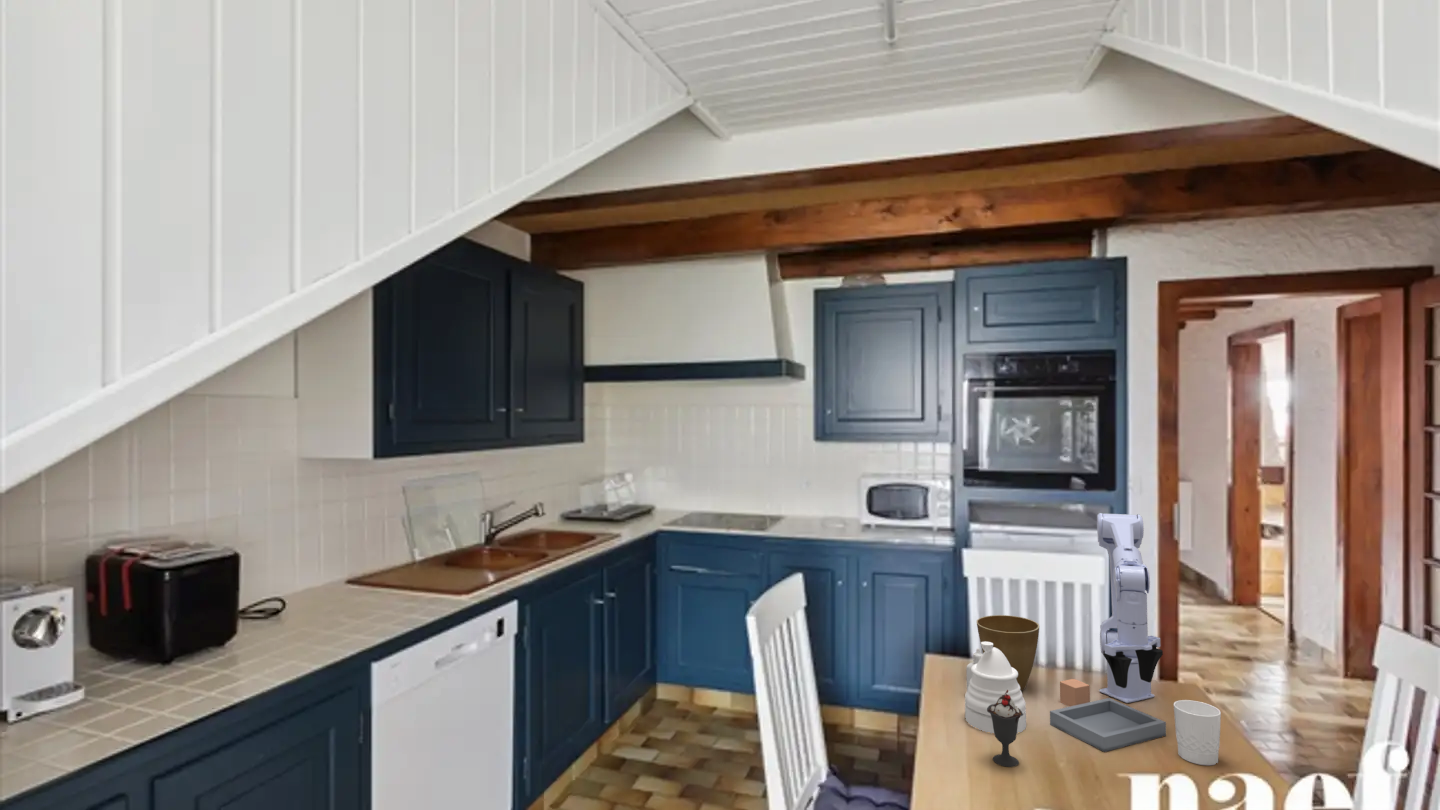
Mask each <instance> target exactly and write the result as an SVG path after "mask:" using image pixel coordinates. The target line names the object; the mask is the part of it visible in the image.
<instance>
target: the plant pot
mask: <svg viewBox="0 0 1440 810" xmlns="http://www.w3.org/2000/svg"><path fill="white" fill-rule="evenodd" d="M976 627H977V632H978V637H979V642H980V644H981V642H991V643H993V647H995V648H997V649H999V650H1000V651H1001V652H1002V653H1003V654H1004V655H1005V657H1006V658H1007V660H1008V662H1009V664H1010V666H1011V667H1013V668H1014V669H1015V670H1017V672H1018V677H1017V678H1016V680H1017V682H1018V684H1019V685H1020V690H1021V691H1023V690H1025V689H1026V687H1027V685H1028V682H1029V680H1030V679H1029V678H1030V676H1031V673H1032V670H1033V665H1034V662H1035V658H1036V654H1037V648H1038V643H1039V636H1040V635H1039V633H1040V624H1039V623H1038V622H1036V621H1035V620H1032V619H1029V618H1026V617H1023V616H1017V615H1007V614H1006V615H1004V614H1003V615H1002V614H998V615H995V614H993V615H987V616H982V617H979V618H978V619H976ZM980 647H981V652H982V654H983V653H984V652H985V651H984V650H983V648H982V646H981V645H980Z"/></svg>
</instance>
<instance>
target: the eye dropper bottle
mask: <svg viewBox="0 0 1440 810" xmlns="http://www.w3.org/2000/svg"><path fill="white" fill-rule="evenodd" d="M972 654H973V655H972V657H973V661H972V662H969V663H968V664H966V692H967V691H968V686H969V685H970V683H969V681H970V679H971V678H972V676H973V673H972V672H971V667H972V666H973V665H974V664H977V663H978V662H979V660H980V658H981V656H982V655H983V652H982V651H981V649H980V648H979V647H978V648H976V651H975V652H974V653H972Z"/></svg>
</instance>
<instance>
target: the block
mask: <svg viewBox="0 0 1440 810" xmlns="http://www.w3.org/2000/svg"><path fill="white" fill-rule="evenodd" d="M1090 688H1091V687H1090V685H1089V684H1087V683H1085V682H1083V681H1081V680H1078V679H1075V678H1070V679H1066V680H1061V681H1059V700H1060V701H1059V702H1060V703H1061V704H1063V705H1065V706H1067V705H1068V706H1067V707H1070V706H1075V705H1079V704H1084V703H1088V702H1091V697H1090V695H1091V693H1090V692H1091V690H1090Z"/></svg>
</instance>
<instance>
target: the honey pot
mask: <svg viewBox="0 0 1440 810" xmlns="http://www.w3.org/2000/svg"><path fill="white" fill-rule="evenodd" d="M981 646H982V647H981ZM980 647H981V649H982V648H983V650H984V651H985V652H984V653H983V652H982V654H983V655H982V656H981V658H980V660H979V662H978V663H977V664H974V665H973V666H972V667H971V672H972V673H973V676H972V678H971V679H970V681H969V683H970V685H969V686H968V691H967V690H966V692H965V694H964V695H965V696H964V702H965V703H964V716H965V718H966V719H965V721H967V722H968V723H969V724H970V725H969V724H968V723H967V722H966V723H967V724H968V725H969V726H971V725H972V726H973V727H972V726H971V727H972V728H974V727H976V728H978V729H979V730H978V729H977V730H978V731H981V730H982V731H981V732H984V731H985V732H984V733H987V732H990V733H989V734H992V733H994V729H993V722H992V717H991V714H990V713H989V712H988V711H987V708H988V706H989V705H992V704H996V702H997V700H998V698H1000V697H1001V696H1002V695H1006V694H1007V695H1009V696H1010V698H1011V699H1012V700H1013V701H1014V703H1015V706H1017V708H1019V709H1020V710H1021V711H1022V713H1023V715H1022V716H1020V718H1019V721H1018V727H1017V734H1019V733H1018V732H1020V733H1022V732H1024V731H1025V730H1026V728H1027V712H1026V709H1027V708H1026V707H1027V706H1026V705H1027V703H1026V700H1025V698H1024V697H1023V692H1022V690H1020V685H1019V684H1018V682H1017V680H1016V678H1017V677H1018V672H1017V670H1015V669H1014V668H1013V667H1011V666H1010V664H1009V662H1008V660H1007V658H1006V657H1005V655H1004V654H1003V653H1002V652H1001V651H1000V650H999V649H997V648H995V647H993V643H991V642H981V643H980ZM1007 690H1008V693H1006V691H1007ZM1005 693H1006V694H1005ZM976 728H975V729H976ZM1023 730H1024V731H1023Z"/></svg>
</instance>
